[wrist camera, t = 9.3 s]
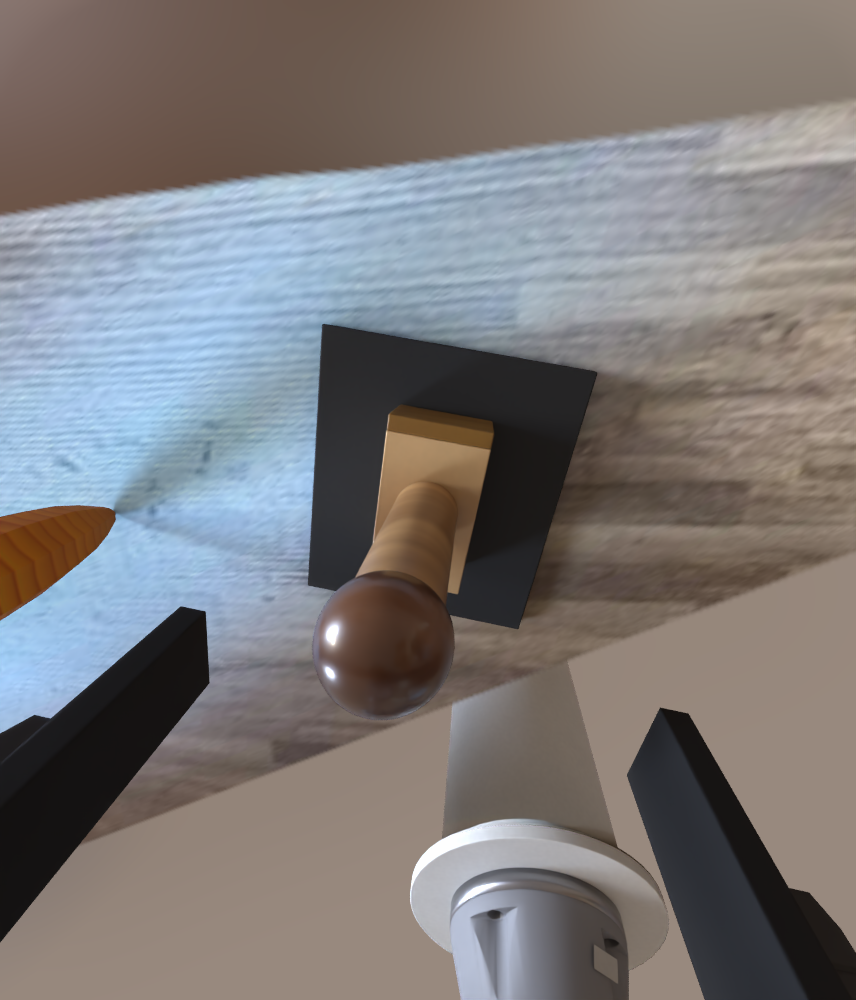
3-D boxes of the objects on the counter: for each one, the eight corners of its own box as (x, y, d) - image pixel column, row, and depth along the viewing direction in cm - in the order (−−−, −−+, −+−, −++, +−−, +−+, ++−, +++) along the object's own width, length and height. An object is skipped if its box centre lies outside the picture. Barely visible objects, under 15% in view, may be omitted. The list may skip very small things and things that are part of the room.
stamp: (400, 403, 22) (269, 509, 8) (492, 421, 21) (513, 559, 8) (380, 550, 25) (266, 792, 12) (460, 566, 25) (437, 833, 11)
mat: (517, 621, 27) (518, 629, 26) (312, 578, 27) (307, 585, 27) (593, 371, 21) (598, 372, 20) (327, 324, 21) (321, 323, 21)
